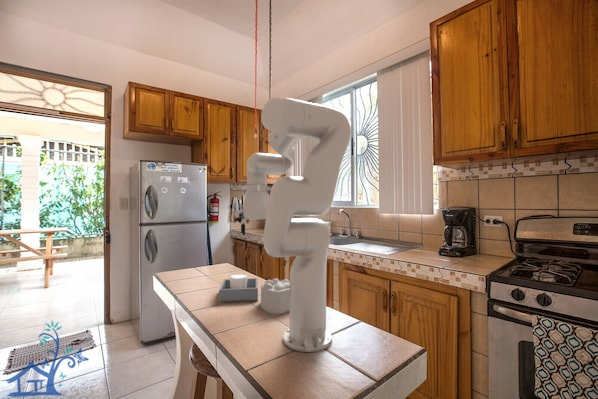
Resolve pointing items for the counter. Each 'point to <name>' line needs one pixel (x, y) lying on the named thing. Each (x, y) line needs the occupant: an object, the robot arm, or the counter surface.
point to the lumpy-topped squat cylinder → (275, 296)
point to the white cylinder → (238, 281)
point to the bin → (239, 292)
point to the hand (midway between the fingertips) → (256, 234)
